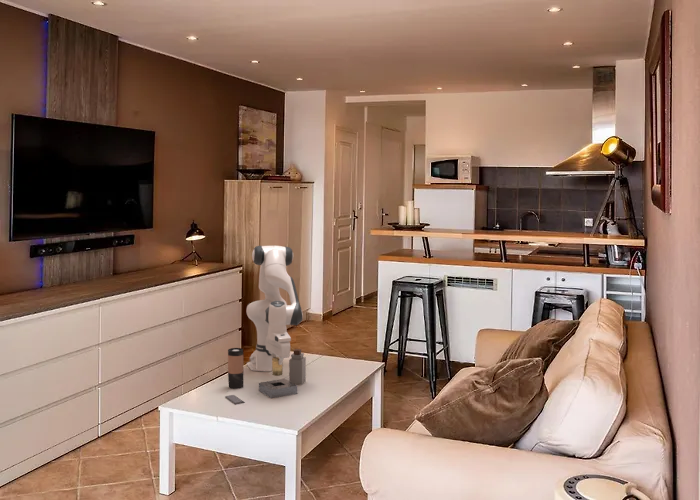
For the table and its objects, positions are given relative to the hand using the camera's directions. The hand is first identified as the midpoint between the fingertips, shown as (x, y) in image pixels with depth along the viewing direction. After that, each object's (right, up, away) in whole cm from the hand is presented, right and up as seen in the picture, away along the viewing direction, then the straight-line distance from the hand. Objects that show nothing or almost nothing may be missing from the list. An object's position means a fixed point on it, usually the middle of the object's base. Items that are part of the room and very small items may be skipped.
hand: (277, 362), depth 325 cm
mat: (-16, -16, -7) cm, 24 cm away
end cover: (0, -6, +1) cm, 6 cm away
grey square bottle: (+8, -14, +18) cm, 25 cm away
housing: (0, -16, +1) cm, 16 cm away
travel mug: (-22, -15, +10) cm, 28 cm away
